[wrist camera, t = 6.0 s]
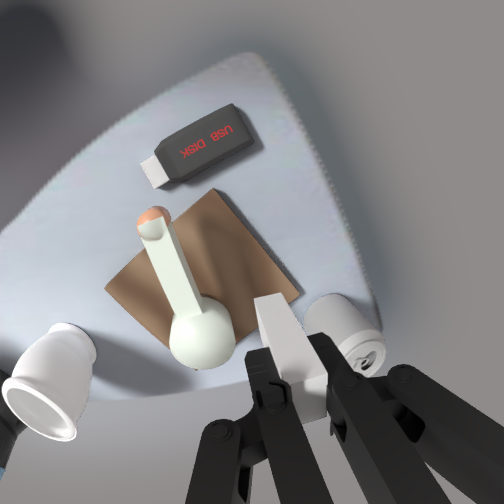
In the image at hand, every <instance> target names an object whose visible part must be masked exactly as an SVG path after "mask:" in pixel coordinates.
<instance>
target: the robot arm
mask: <svg viewBox="0 0 504 504" xmlns="http://www.w3.org/2000/svg"><path fill="white" fill-rule="evenodd" d="M254 303H255V308H256V314H257V319H258V325H259V330H260V335H261V340H262V343H263V346H264V348H261V349H257V350H252V351H248V352H247V354H246V357H245V359H244V360H245V365H246V369H247V373H248V378H249V382H250V386H251V391H252V398H253V401H254V404H253V408H252V409H251V411H250V412H249V413H248V414H247V415H245V416H244V417H242V418H241V419H238V420H236V421H234V422H233V421H232V420H228V419H219V420H215V421H213V422H211V423H210V424H208V425H207V426H206V427H205V428H204V431H203V432H202V436H201V440H200V444H199V448H198V452H197V456H196V461H195V465H194V469H193V473H192V477H191V481H190V485H189V489H188V493H187V497H186V502H185V504H250V495H251V485H252V474H253V465H255V464H257V463H259V462H261V461H263V460H265V459H267V458H268V460H269V463H270V467H271V471H272V475H273V478H274V482H275V485H276V489H277V492H278V496H279V499H280V503H281V504H334V503H333V501H332V499H331V496H330V493H329V491H328V489H327V486H326V484H325V481H324V479H323V476H322V474H321V472H320V469H319V467H318V464H317V461H316V459H315V456H314V454H313V452H312V449H311V447H310V444H309V442H308V439H307V436H306V434H305V431H304V429H303V426H302V424H305V423H308V422H312V421H315V420H318V419H321V418H324V417H326V416H327V411H328V413H329V415H330V417H331V423H330V435H331V436H332V435H333V432H334V433H335V435H336V437H337V439H338V442H339V443H340V446H341V448H342V450H343V452H344V454H345V456H346V458H347V460H348V462H349V464H350V466H351V469H352V471H353V473H354V475H355V477H356V479H357V481H358V483H359V485H360V487H361V489H362V491H363V493H364V495H365V497H366V500H367V502H368V504H451V502H450V500H449V499H448V497H447V496H446V494H445V493H444V491H443V490H442V488H441V487H440V485H439V484H438V482H437V481H436V479H435V478H434V476H433V475H432V473H431V471H430V470H429V468H428V467H427V465H426V464H425V462H426V463H427V464H428V465H429V466H430V467H432V468H433V469H434V470H435V471H436V472H438V473H439V474H440V475H441V476H442V477H444V478H445V479H446V480H447V481H449V482H450V483H451V484H452V485H454V486H455V487H456V488H457V489H459V490H460V491H461V492H462V493H464V494H465V495H466V496H467V497H469V498H470V499H471V500H473V501H474V502H475V503H476V504H504V427H503V426H501V425H500V424H498V423H497V422H495V421H494V420H492V419H491V418H489V417H488V416H486V415H485V414H483V413H481V412H480V411H479V410H477V409H476V408H474V407H473V406H471V405H470V404H468V403H467V402H465V401H464V400H462V399H461V398H459V397H458V396H456V395H455V394H453V393H452V392H450V391H449V390H447V389H446V388H444V387H443V386H441V385H440V384H439V383H437V382H436V381H434V380H433V379H431V378H430V377H428V376H427V375H425V374H424V373H422V372H420V371H419V370H418V369H416V368H415V367H413V366H410V365H406V364H401V365H397V366H394V367H392V368H391V369H390V370H389V372H388V375H387V376H381V377H370V378H369V377H365V376H364V375H363V374H361V373H359V372H356V371H354V370H353V369H352V368H351V366H350V365H349V363H348V362H347V360H346V359H345V357H344V356H343V354H342V353H341V352H340V351H339V349H338V347H337V346H336V345H335V343H334V342H333V340H332V339H331V337H330V336H328V335H326V334H325V333H323V332H320V333H316V334H313V335H309V336H306V335H305V333H304V331H303V329H302V328H301V326H300V324H299V323H298V321H297V319H296V317H295V316H294V314H293V312H292V310H291V309H290V307H289V305H288V303H287V302H286V300H285V298H284V297H283V295H282V293H281V292H280V293H276V294H272V295H267V296H263V297H258V298H254ZM8 378H11V377H9V376H8V375H7V374H5V373H4V372H2V371H0V480H1V478H2V476H3V473H4V472H5V468H6V465H7V462H8V460H9V457H10V454H11V452H12V449H13V446H14V444H15V441H16V439H17V437H18V435H19V434H20V433H21V432H22V431H24V429H26V428H27V427H28V426H27V425H26V424H24V423H23V422H22V421H21V420H20V419H19V418H18V417H17V416H16V415H15V414H14V413H13V412H12V411H11V409H10V408H9V407H8V405H7V404H6V402H5V400H4V398H3V395H2V386H3V383H4V382H5V380H7V379H8Z"/></svg>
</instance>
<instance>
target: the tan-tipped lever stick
mask: <svg viewBox="0 0 504 504" xmlns="http://www.w3.org/2000/svg"><path fill="white" fill-rule="evenodd" d="M137 231H138V234H139V235H140V237H141V238H142V241H143V243H144V246H145V248H146V251H147V253H148V255H149V258H150V260H151V263H152V265H153V267H154V269H155V272H156V274H157V276H158V279H159V281H160V283H161V285H162V287H163V290H164V292H165V294H166V296H167V298H168V300H169V302H170V305H171V307H172V309H173V311H174V315H173V319H172V326H171V332H170V340H169V345H170V349H171V352H172V354H173V355H174V357H175V358H176V359H177V360H178V361H179V362H181V363H182V364H184V365H186V366H188V367H190V368H194V369H212V368H216V367H218V366H220V365H222V364H224V363H225V362H227V361H228V360H229V359H230V358H231V356H232V355H233V353H234V350H235V346H236V341H235V336H234V331H233V326H232V321H231V317H230V314H229V312H228V310H227V309H226V308H225V306H224V305H222V304H221V303H220V302H218V301H216V300H214V299H211V298H207V297H201V295H200V293H199V290H198V288H197V286H196V283H195V281H194V278H193V276H192V273H191V271H190V268H189V266H188V263H187V261H186V258H185V256H184V253H183V251H182V248H181V246H180V243H179V240H178V238H177V235H176V232H175V230H174V227H173V224H172V222H171V216H170V213H169V212H168V210H167V209H165V208H164V207H161V206H153V207H151V208H149V209H148V210H147V211H146V212H145V213H143V214H142V215H141V216H140V217H139V219H138V221H137Z"/></svg>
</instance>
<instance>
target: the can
mask: <svg viewBox="0 0 504 504" xmlns="http://www.w3.org/2000/svg"><path fill="white" fill-rule="evenodd" d="M303 324H304V329H305V331H306V333H307V334H308V336H309V335H313V334H316V333H320V332H323V333H325V334H326V335H328V336H330V337H331V339H332V340H333V342H334V343H335V345H336V346H337V347H338V349H339V351H340V352H341V353H342V354H343V356H344V357H345V359H346V360H347V362H348V363H349V365H350V366H351V368H352V369H353V370H354V371H356V372H359V373H361V374H363V375H364V376H365V377H370V376H372V375H373V374H374V373H375V372H376V371H377V370H378V369H379V368H380V367H381V365H382V364H383V362H384V359H385V357H386V347H385V345H384V338H383V335H382V334H381V333H380V332H379V331H378V330H377V329H376V328H375V327H374V326H373V325H372V324H371V323H370V322H369V321H368V320H367V319H366V318H365V317H364V316H363V315H362V314H361V313H360V312H359V311H358V310H357V309H356V308H355V307H354V306H353V305H352V304H351V303H350V302H349V301H348V300H347V299H346V298H345V297H343V296H341V295H338V294H329V295H326V296H323V297H321V298H319V299H318V300H316V301H315V302H313V304H312V305H311V306H310V307H309V308H308V310H307V312H306V314H305V316H304V322H303Z"/></svg>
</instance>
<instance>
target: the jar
mask: <svg viewBox="0 0 504 504" xmlns="http://www.w3.org/2000/svg"><path fill="white" fill-rule="evenodd" d="M95 360H96V348H95V346H94V344H93V342H92V340H91V339H90V338H89V336H88V335H87V334H86V333H85V332H84V331H82V330H81V329H80V328H78V327H76V326H74V325H72V324H68V323H57V324H55V325H53V326H52V327H51V329H50V330H49V333H47V334H45V335H44V336H42V337H41V338H39V339H38V340H37V341H36V342H35V343H34V344H32V345H31V346H30V347H29V348H28V349H27V350H26V351H25V352H24V353H23V354H22V356H21V357H20V359H19V360H18V362H17V364H16V366H15V368H14V370H13V373H12V377H11V378H8V379H7V380H5V382H4V383H3V386H2V395H3V398H4V400H5V402H6V404H7V405H8V407H9V408H10V409H11V411H12V412H13V413H14V414H15V415H16V416H17V417H18V418H19V419H20V420H21V421H22V422H23V423H24V424H26V425H27V426H28V427H30V428H31V429H33V430H34V431H36V432H38V433H39V434H41V435H43V436H46V437H48V438H51V439H54V440H58V441H70V440H73V439H74V438H75V437H76V433H77V424H76V422H77V421H78V419H79V417H80V416H81V414H82V413H83V411H84V408H85V406H86V403H87V400H88V397H89V392H90V384H91V379H92V364H93V363H94V362H95Z"/></svg>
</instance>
